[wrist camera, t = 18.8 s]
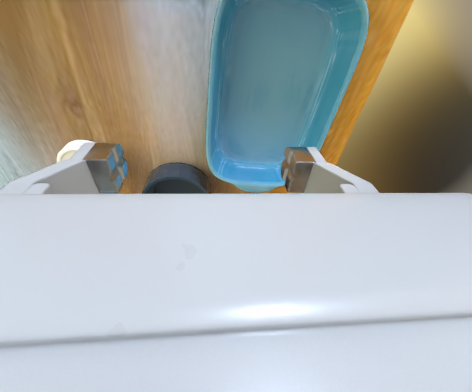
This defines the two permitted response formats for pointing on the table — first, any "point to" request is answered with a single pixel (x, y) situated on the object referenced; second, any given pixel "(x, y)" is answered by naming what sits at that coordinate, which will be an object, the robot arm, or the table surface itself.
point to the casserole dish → (277, 82)
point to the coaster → (70, 149)
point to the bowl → (176, 180)
